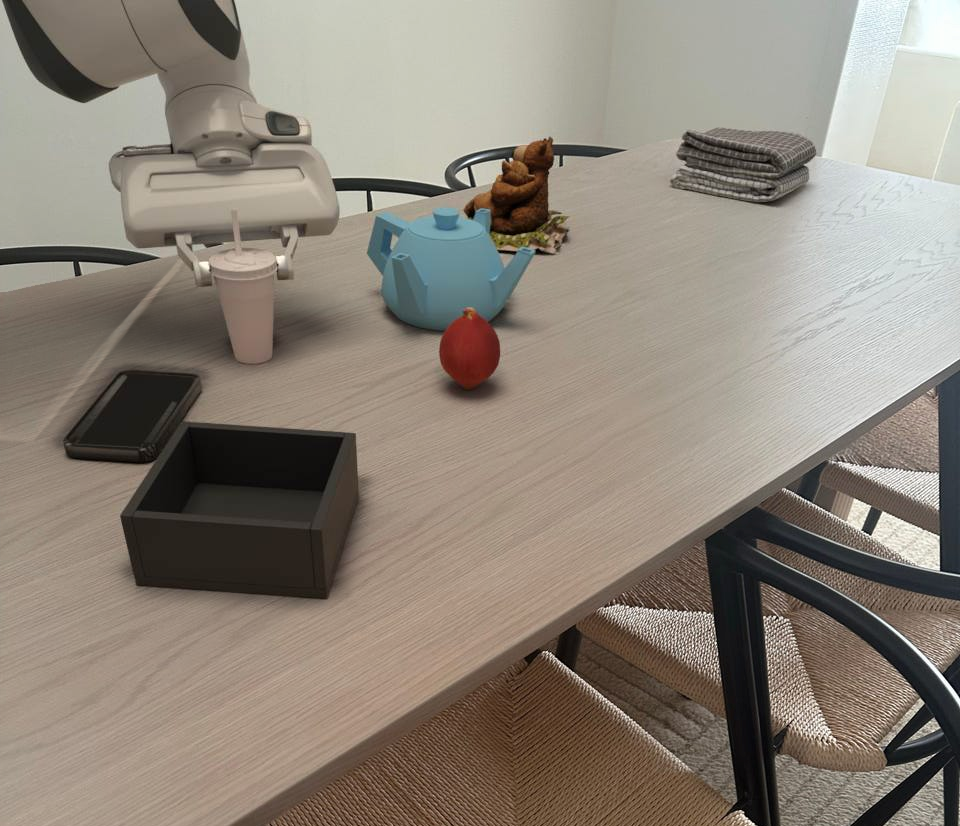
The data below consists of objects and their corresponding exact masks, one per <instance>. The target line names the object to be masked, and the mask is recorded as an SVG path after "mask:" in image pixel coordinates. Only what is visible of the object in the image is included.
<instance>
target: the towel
mask: <svg viewBox="0 0 960 826" xmlns="http://www.w3.org/2000/svg"><path fill="white" fill-rule="evenodd" d="M681 140H683V142H681V143H680V145H679V147H678V150H677V151H676V152H675V155H676V158H677V159H678V160H680V161H683V162H685V164H681V166H680V167H679V168H678V169H677V170H676V171H675V172H674V173H673V174H672V176H670V179H669V184H670V186H672V187H673V188H676V189H682V190H685V189H686V190H689V191H694V192H700V193H704V194H705V193H706V194H708V195H714V196H716V197H719V196H720V197H722V198H729V199H734V200H741V201H746V202H755V203H766V202H767V203H769V202H773V201H776V200H778V199H781V198H782V197H784V196H786V195H787V194H790V193H791V192H793V191H794V190H796V189H798V188H799V187H802V186H804V185H805V184H806V183H808V182H809V180H810V168H809V167H808V166H806V164H808V163H809V162H811V161H812V160H813V159H814V158H815V157H816V156H817V154H818V153H817V149H816V145H814V143H813V141H812V140H811V139H808V138H807V137H805V136H802V135H801V134H799V133H795V132H787V131H780V130H779V131H777V130H776V131H775V130H771V131H770V130H768V131H766V130H762V131H759V130H758V131H752V130H744V129H741V130H740V129H736V128H734V129H733V128H726V127H715V128H712V129H710V130H707V131H705V132H699V131H696V130H691V129H686V130H685V131H684V132H683V133H682V136H681Z"/></svg>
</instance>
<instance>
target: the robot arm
mask: <svg viewBox="0 0 960 826" xmlns="http://www.w3.org/2000/svg"><path fill="white" fill-rule="evenodd" d="M1 2H2V4H3V8H4V10H5V14H6V16H7V19H8V22H9V24H10V28H11V30H12V33H13V36H14V39H15V41H16V44H17V47H18V49H19V51H20V53H21V55H22V58H23V60H24V62H25V64H26V65H27V67H28V69H29V71H30V72H31V74H32V75H33V76H34V78H35V79H36V80H37V81H38V82H39V83H40V84H41V85H43V86H44V87H46V88H47V89H48V90H50V91H53V92H54V93H57V94H58V95H60V96H63V97H64V98H67V99H69V100H72V101H74V102H76V103H81V104H87V103H89V102H92V101H94V100H95V99H98V98H101V97H102V96H104V95H107V94H109V93H111V92H113V91H115V90H117V89H118V88H120V86H121V87H122V86H124V85H127V84H129V83H132V82H136V81H139V80H142V79H144V78H148V77H151V76H154V75H157V78H158V81H159V84H160V86H161V87H162V89H163V91H164V94H165V95H164V96H165V102H164V117H165V121H166V126H167V130H168V135H169V141H170V143H168V144H167V143H166V144H151V145H146V146H137V145H127V146H124V147H123V146H122V148H121V149H122V150H120V151H118V152H116V153H114V154H113V155H112V156H111V157H110V159H109V162H108V171H109V176H110V181H111V184H112V185H113V188H115V190H117V191H118V192H119V193H120V204H121V212H122V213H121V214H122V220H123V227H124V234H125V238H126V240H127V242H129V243H130V244H131V245H132V246H133V247H135V248H136V249H151V248H153V249H154V248H166V247H175V248H176V251H177V256H178V257H179V259H180V260H181V261H182V262H183V263H184V264H185V265H186V266H187V268H188V269H189V270H190V271H191V272H193V277H194V282H195V286H196V288H205V287H213V277H212V276H213V275H212V274H211V272H210V265H209V260H207V261H204V260H203V261H200V260H199V258H198V257H197V256H196V255H195V253H194V252H193V251H194V250H193V246H195V245H208V244H223V243H224V244H225V243H235V241H234V232H233V224H232V216H231V209H232V208H236V209H237V215H238V223H239V232H240V240H241V242H251V241H266V240H280V241H281V247H282V248H284V249H285V250H284V253H283V255H275V257H276V263H277V267H278V269H277V271H276V272H275V273H276V280H277V281H290V280H294V275H295V274H294V273H295V272H294V265H293V261H292V260H293V258H294V256H295V253H296V250H297V248H298V241H299V238H307V237H308V238H309V237H321V236H322V237H325V236H330V235H332V234H333V232H334V231H335V229H336V227H337V226H338V223H339V221H340V220H339V219H340V213H341V212H340V211H341V210H340V203H339V199H338V194H337V191H336V188H335V184H334V181H333V177H332V174H331V171H330V169H329V166H328V164H327V162H326V160H325V157H324V156H323V155H322V153H321V152H320V151H319V150H318V149H317V148H316V147H314V146H313V133H312V126H311V124H310V121H309V120H308V119H307V118H305V117H303V116H300V115H297V114H293V113H288V112H284V111H281V110H277V109H274V108H270V107H267V106H264V105H262V104H259V103H258V101H257V99H256V97H255V95H254V93H253V91H252V88H251V85H250V77H251V65H250V61H249V55H248V51H247V47H246V42H245V39H244V36H243V32H242V31H243V30H242V28H241V24H240V19H239V14H238V10H237V5H236V1H235V0H1Z"/></svg>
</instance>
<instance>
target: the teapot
mask: <svg viewBox="0 0 960 826" xmlns="http://www.w3.org/2000/svg"><path fill="white" fill-rule="evenodd" d="M490 215H491V210H488V209H482V208H481V209H479V210H477V211H476V212H475V216H474V219H473V220H470V219H467V218H468V217H461V216H460V210H458V209H456V208H454V207H450V206H449V207H447V206H443V207H437V208H434V209H432V215H431V216H430V215H429V216H424V217H420V218H417V219H414V220H412V221H411V222H409V221H407V220H405V219H403V218H400V217H399V216H396V215H395V214H393V213H390V212H389V211H384V212H382V213H379V214H376V215H375V219H374V223H373V227H372V231H371V234H370V239H369V242H368V246H367V250H366V255H367V257H368V258H369V259H370V260H371V262H372V263H373V265H374V266H375V267H376V269H377V270H378V272H380V274H381V275H382V281H381V296H382V299H383V302H384V303H385V305H386V306H387V307H388V308H389V310H390V311H391V312H392V313H393V314H394V315H395V316H396V317H397V318H398V319H399V320H400V321H402V322H404V323H405V324H408V325H411V326H413V327H417V328H420V329H426V330H433V331H442V332H443V331H444V332H445V330H446V329H447V328H448V326H449V325H450V324H451V323H452V322H453V321H454V320H456V319H457V318H459V317H461V316H463V314H464V313H463V311H464V310H465V309H466V308H468V307H470V308H471V307H472V308H473V309H475V310H476V312H477V313H478V315H479V316H481V317H483V318H484V319H485V320H486V321H487V322H488V323H489V322H491V321H492V320H493V319H494V318H495V317H496V316H497V315H498V314H499V313H500V312H501V311H502V309H503V308H504V307H505V306H506V304H507V301H509V299H510V298H511V296H512V294H513V293H514V291H515V289H516V288H517V286H518V284H519V282H520V281H521V279H522V277H523V275H524V274H525V272H526V270H527V269H528V267H529V264H530V263H531V262H532V260H533V258H534V256H535V254H536V249H535V250H532V249H529V248H525V247H521V248H519V249H518V251H516V253H515V254H514V256H513V257H512V258H511V260H509V262H508V263H507V264H506V266H504V263H503V259H502V257H501V255H500V253H499V250H497V249H496V247H495V245H494V243H493V241H492V239H491V237H490ZM393 235H394V236H395V237H396V238H398V239H397V241H396V243H395V244H394V246H393V248H392V247H391V246H392V239H393Z"/></svg>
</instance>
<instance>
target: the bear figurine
mask: <svg viewBox="0 0 960 826" xmlns="http://www.w3.org/2000/svg"><path fill="white" fill-rule="evenodd" d="M553 143H554V139H553V137H552V136H551V135H549V137H548V138H546V137H544V138H543V140H542V139H539V140H535V141H532V142H529V144H521V145H518V146H517V147H516V148H515V149H514V150H512V152H511V158H512V160H511V161H509V162H508V161H507V160H504V159H503V160H502V162H501V172H502V173H501V174H498V175H497V176H496V178H495V181H494V182H493V183H492V186H491V188H490V189H489V190H488V191H487V192H484V193H478V194H476V195H475V196H474V197H473V198H472V199H470V200H469V202H467V204H466V205H465V206H464V208H463V210H462V211H463V213H464V214H465V216H466V218H467V219H470V220H473V219H474V216H475V212H476V211H477V210H479V209H481V208H482V209H488V210H491V215H490V237H491V239H492V241H493V243H494V245H495V247H496V249H497V251H510V252H517V251H518V249H519V248H521V247H525V248H529V249H532V250H535V251H536V250H537V249H539V250H540V251H541V252H545V253H549V254H555V253H557V252H558V250H556V248H557V247H559V246H560V245H562V243H563V239H564V237H565V236H566V234H568V233H569V231H570V230H571V227H567V223H566V220H568V218H570V217H571V216H570V215H563V212H561V211H558V210H552V209H551V210H549V207H550V205H549V203H550V202H549V175H550V169H552V167H554V164H555V163H554V162H555V153H554V150H553ZM555 215H557V216H555ZM553 216H554V217H553Z"/></svg>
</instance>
